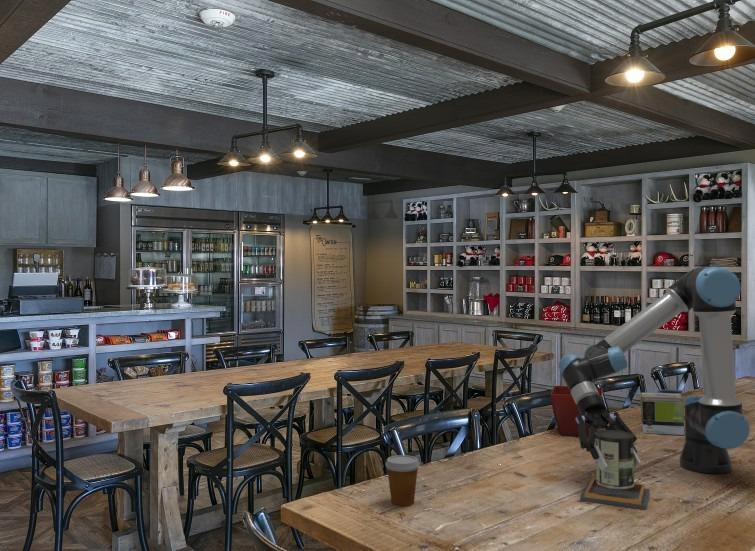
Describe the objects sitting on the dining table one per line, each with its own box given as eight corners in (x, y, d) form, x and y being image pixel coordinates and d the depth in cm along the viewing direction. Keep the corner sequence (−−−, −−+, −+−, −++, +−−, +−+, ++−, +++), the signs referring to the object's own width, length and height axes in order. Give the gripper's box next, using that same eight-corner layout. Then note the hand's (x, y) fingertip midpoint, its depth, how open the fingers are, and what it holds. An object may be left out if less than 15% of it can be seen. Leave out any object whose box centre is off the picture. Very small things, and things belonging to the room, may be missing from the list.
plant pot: (550, 436, 253) (549, 393, 253) (554, 425, 271) (554, 385, 271) (602, 440, 247) (602, 396, 246) (603, 429, 264) (603, 387, 264)
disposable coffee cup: (409, 510, 176) (408, 466, 176) (379, 504, 181) (378, 461, 181) (425, 500, 184) (425, 457, 184) (396, 494, 189) (396, 452, 189)
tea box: (681, 430, 261) (681, 393, 261) (684, 436, 252) (684, 397, 252) (641, 427, 266) (640, 391, 266) (642, 433, 257) (642, 395, 257)
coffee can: (630, 478, 189) (630, 430, 189) (637, 490, 179) (637, 439, 179) (593, 477, 192) (593, 428, 191) (598, 488, 181) (597, 437, 181)
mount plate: (649, 492, 188) (649, 484, 188) (645, 509, 175) (645, 501, 175) (588, 484, 196) (588, 477, 196) (580, 500, 182) (580, 492, 182)
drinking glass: (687, 421, 275) (687, 393, 275) (663, 422, 276) (663, 393, 275) (676, 416, 286) (676, 389, 285) (653, 416, 286) (653, 389, 286)
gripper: (615, 405, 203) (649, 470, 188) (550, 409, 197) (580, 477, 182) (625, 390, 198) (662, 456, 183) (559, 395, 192) (591, 463, 177)
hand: (621, 467), depth 182 cm, fingers closed on coffee can, 10 cm apart
